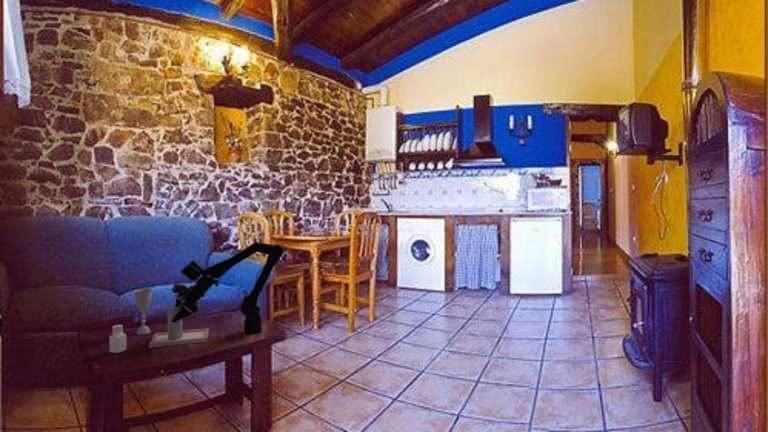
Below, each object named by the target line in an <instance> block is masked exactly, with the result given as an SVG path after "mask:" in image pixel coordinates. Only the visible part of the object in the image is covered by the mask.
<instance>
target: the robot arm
mask: <svg viewBox="0 0 768 432" xmlns="http://www.w3.org/2000/svg"><path fill="white" fill-rule="evenodd" d="M256 253H260V254H264V255H267V258H266V261H265V264H264V266H263V268H262V269H261V271H260V274H259V276H258V277H257V280H256V281H255V283H254V286H253V287H252V290H251V291H250V292H249V293H247V292H246V293H245V294H244V297H243V299H242V300H241V302H240V304H239V306H240V312H241V314H243V315H244V316H245V320H243V327H244V329H243V330H244V332H245V334H246V335H247V334H256V333H257V334H258V333H262V331H263V330H262V315H261V311H262V309H261V308H260V307H259V306H258V305H257V303H258V301H259V296H260V294H261V292H262V290H263V288H264V286H265V285H266V282H267V280H268V278H269V277H270V275H271V272H272V270H273V268H274V267H275V266H276V264H277V263H278V262H279V260H280V259H281V258H282V257H283V254H284V247H283V245H282V244H280V243H274V244H269V243H263V242H259V241H255V242H253V243H252V244H250V245H249V246H247V247H245V248H244V249H242V250H240V251H239V252H238V253H237V252H236V254H234V255H232V256H230V257H229V258H226V259H223V260H220V261H218V262H215V263H214V264H213V265H212V266H206V267H203V266H201V265H199V264H198V263H197V261H196V260H195V259H193V260H192V261H190V262H189V264H187V265H186V266H184V268H183V269H181V271H180V273H181V274H182V275H183V276H185V277H186V278H187V279H189V281H190V282H193V281H196V282H195V283H194V284H193V285H189V287H188V286H186V284H183V283H181V284H179V283H177V282H176V283H174V284H173V287H172V289H171V292H172V293H174V294H175V296H176V297H175V298H174V299H175V304H174V305H173V307H180V310H179V311H178V312H177V314H176V315H175V317H174V318H173V319H172V322H173V323H174V322H176V321H179V320H181V319H182V320H183V319H185V318H187V317H189V316H191V315H193V314H194V315H195V314H196V313H197V312H198V311H199V305H198V302H199V300H201V299H202V298H205V295H206V293H208V291H209V290H210V289H211V288H212V287H213V286H216V287H219V279H220V278H222V277H223V275H225V274H226V273H227V272H228V271H229V270H231V268H233V267H234V266H236V265H237V264H240V262H241V263H242V261H244V260H246V259H247V258H249V257H251V256H252V255H253V254H256Z"/></svg>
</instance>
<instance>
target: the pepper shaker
mask: <svg viewBox="0 0 768 432" xmlns="http://www.w3.org/2000/svg"><path fill="white" fill-rule="evenodd" d="M123 326H124V325H122V324H116V325H113V326H112V334H110V336H109V339H108V340H109V352H110V353H113V354H119V353H121V352H124V351H126V350H127V334H126V333H124V331H123V330H124V328H123Z"/></svg>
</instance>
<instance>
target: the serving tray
mask: <svg viewBox="0 0 768 432" xmlns="http://www.w3.org/2000/svg"><path fill="white" fill-rule="evenodd" d="M209 332H210V328H209V327H207V328H200V329H199V328H198V329H187V330H182V338H180V339H177V340H169V339H168V331H166V332H156V333H155V334H154V335H153V337H152V338H151V339H150V341H149V343H148V348H158V347H159V348H161V347H166V346H167V347H168V346H169V347H170V346H177V345H178V346H179V345H188V344H189V345H190V344H196V343H197V344H198V343H206V342H207V341H208V337H209Z"/></svg>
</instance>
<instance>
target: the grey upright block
mask: <svg viewBox="0 0 768 432" xmlns="http://www.w3.org/2000/svg"><path fill="white" fill-rule="evenodd" d="M179 310H180V307H174V306H171V307H168V308H167V310H166V311H167V332H168V339H169V340H177V339H180V338H182V331H183V319H181V320H179V321H176V322H174V323H173V322H172V319H173V318H174V317H175V315H176V314H177V312H178V311H179Z"/></svg>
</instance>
